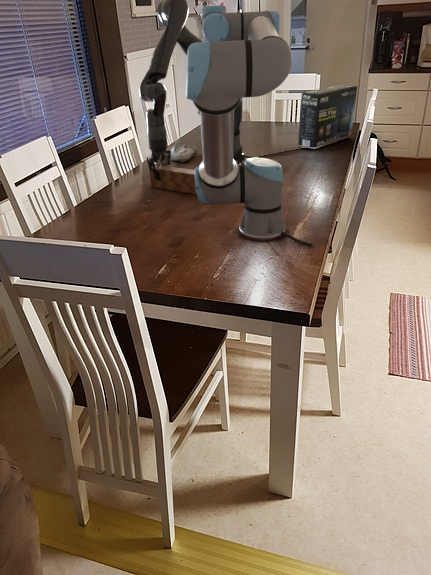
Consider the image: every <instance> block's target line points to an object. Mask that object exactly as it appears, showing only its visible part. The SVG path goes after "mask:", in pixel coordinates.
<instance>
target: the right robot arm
mask: <svg viewBox="0 0 431 575" xmlns="http://www.w3.org/2000/svg"><path fill="white" fill-rule="evenodd" d="M280 29H281V18H280V13H279V12H278V11H275V10H263V11H262V10H261V11H246V12H245V11H244V12H243V11H241V12H239V11H238V12H237V11H236V12H227V7H226V5H223V4H222V5H204V6H203V7H202V9H201V33H202V41H203V42H198V43H192V44H191V45H190V46H189V47H188V50H187V56H186V60H185V62H186V63H185V64H186V65H185V99H187V100H190V101H192V103H193V105H194V107H195V108H196V110H197V114H198V115H199V119H200V136H201V148H202V160H201V162H200V163H199V165H197V166H196V167H195V168H194V170H195V186H196V192H197V194H196V197H197V199H198V201H199V203H200V204H202V205H211V206H212V205H213V206H214V205H227V204H228V205H229V204H231V205H232V204H244V211H243V213H242V216H241V220H240V222H239V225H238V232H239V235H240V236H241V237H242V238H244V239H247V240H250V241H254V242H271V241H277V240H279V239H281V238H283V237H287V238H288V239H290V240H292V241H294V242H296V243H298V244H301V245H304V246H308V247H312V246H313V243H312V242H307V241H304V240H301V239H298V238H296V237H294V236H293V235H291V234H289V233H287V223H286V221H285V216H284V214H283V210H282V200H283V181H284V174H283V173H284V172H283V171H284V170H283V166H282V164H280V162H278V161H276V160H274V159H270V158H265V157H261V158H256V157H251V158H245V160H244V161H243V164H242V165H237V163H236V161H235V160H234V159H233V139H234V109H235V108H236V107H237V106H238V105H239V103H240V99H241V98H242V99H243V98H258V97H263V96H265V95H268V94H270V93H271V92H273V91H275V90H276V89H277V88H278V87H280V86H281V85H282V84H283V83H284V82H285V80H286V79H287V78H288V76H289V74H290V72H291V69H292V66H293V59H294V58H293V52H292V50H291V47H290V45H289V44H288V42H287V41H286V40H285V39H284V38H282V37H280Z"/></svg>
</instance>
